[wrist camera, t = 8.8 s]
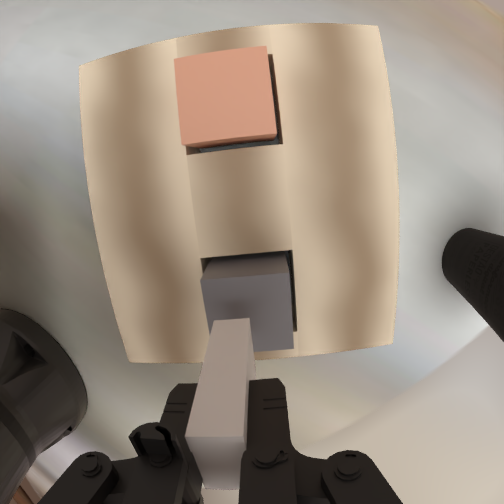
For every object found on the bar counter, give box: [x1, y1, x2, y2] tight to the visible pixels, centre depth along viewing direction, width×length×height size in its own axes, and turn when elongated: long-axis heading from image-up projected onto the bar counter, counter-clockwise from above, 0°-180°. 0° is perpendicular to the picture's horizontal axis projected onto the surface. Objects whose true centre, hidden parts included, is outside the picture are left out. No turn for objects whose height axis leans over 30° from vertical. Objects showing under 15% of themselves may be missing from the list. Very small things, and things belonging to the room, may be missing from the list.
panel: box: [79, 23, 399, 363], centre depth 19 cm, size 18×20×4 cm
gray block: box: [200, 251, 294, 352], centre depth 19 cm, size 4×4×5 cm
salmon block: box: [174, 46, 277, 149], centre depth 16 cm, size 4×4×5 cm
